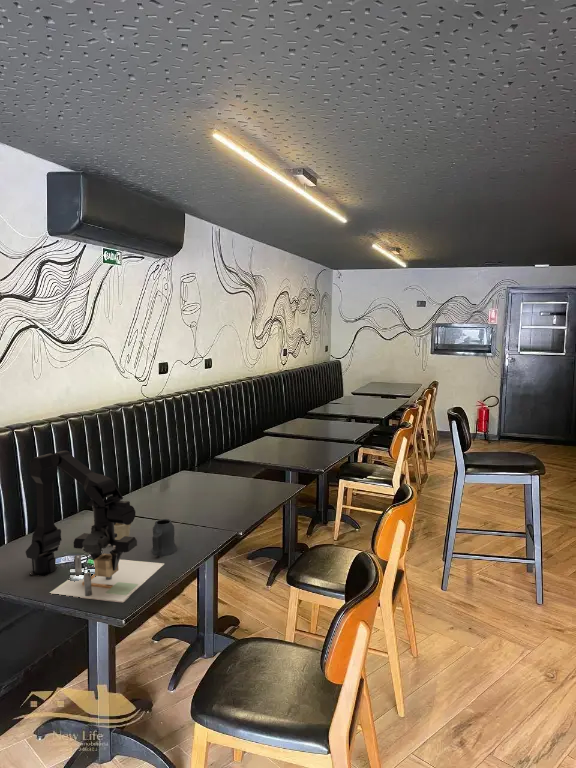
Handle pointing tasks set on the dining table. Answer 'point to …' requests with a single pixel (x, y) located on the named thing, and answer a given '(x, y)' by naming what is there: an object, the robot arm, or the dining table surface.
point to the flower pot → (121, 530)
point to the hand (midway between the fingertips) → (106, 569)
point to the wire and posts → (88, 577)
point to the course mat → (113, 582)
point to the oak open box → (104, 566)
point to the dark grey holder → (163, 538)
